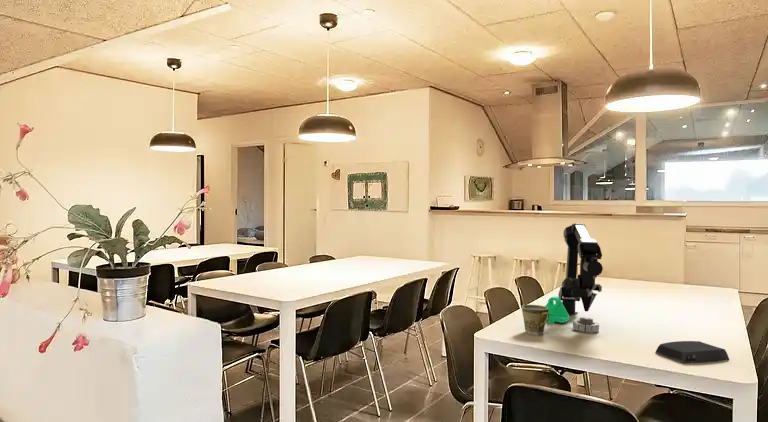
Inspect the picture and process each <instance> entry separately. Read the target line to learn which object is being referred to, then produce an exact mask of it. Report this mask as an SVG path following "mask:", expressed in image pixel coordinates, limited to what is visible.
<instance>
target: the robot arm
mask: <svg viewBox="0 0 768 422" xmlns="http://www.w3.org/2000/svg"><path fill="white" fill-rule="evenodd" d="M563 238H564V242H565V243H566V246H567V255H566V268H565V269H566V271H565V278H564V279H563V281H562V282H561V286H560V287H559V291H558V296H557V297H559V298H560V300H561V301H562V303H563V305H564V307H565V309H566V311H567V313H568V314H569V316H575V315H578V314H579V313H578V311H576V304H577V303H576V302H580V301H581V302H582V306H583V310H584V312H589V310H590V308H591V306H592V304H593V303H594V301H595V299H596V297H597V295H598V293H601V292H602V291H603V290H602V288H603V286H602V285H601V284H600V283H596V278H597V277H598V276H600V275H601V274H602V272H603V270H604V268H603V265H602V263H601V262H599V260H602V258H603V257H602V256H603V253H602V249H601V246H600V244H599V243H598V241H597V240H596V239H595V238H592V237H590V234H589V233H588V231H587V228H586V224H585V223H577V222H575V223H572V224H571V225H569V226H567V227H565V229H564V230H563ZM578 257H579V258H578ZM579 259H580V261H579V263H580V264H579V273H577V272H578V260H579ZM594 291H597V292H598V293H594Z"/></svg>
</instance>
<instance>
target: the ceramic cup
mask: <svg viewBox="0 0 768 422" xmlns="http://www.w3.org/2000/svg"><path fill="white" fill-rule="evenodd" d="M545 306H546V305H539V304H523V305H521V312H522V318H523V323H524V330H525V333H526V334H529V335H531V336H534V335H535V336H541V335H543V334H544V331H545V327H546V326H545V325H546V323H547V322H546V321H548V320H549V318H550V316H549V313H548V310H549V308H548V307H545ZM547 315H548V319H547V320H546V318H547Z"/></svg>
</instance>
